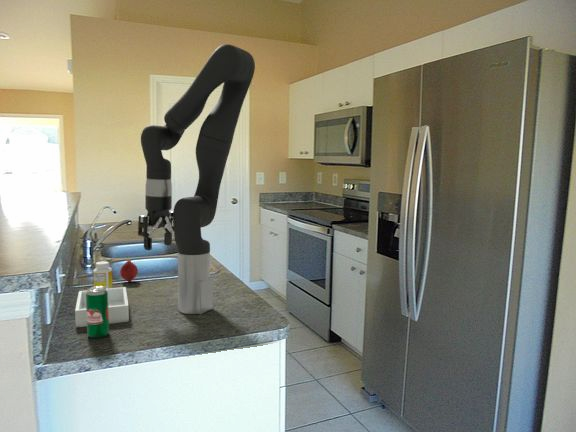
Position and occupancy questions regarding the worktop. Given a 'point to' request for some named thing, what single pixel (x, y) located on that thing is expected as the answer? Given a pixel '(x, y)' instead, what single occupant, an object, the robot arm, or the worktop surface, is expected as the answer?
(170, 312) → the worktop surface
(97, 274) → the supplement bottle
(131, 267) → the onion
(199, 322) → the worktop surface
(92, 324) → the soda can
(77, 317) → the tote
